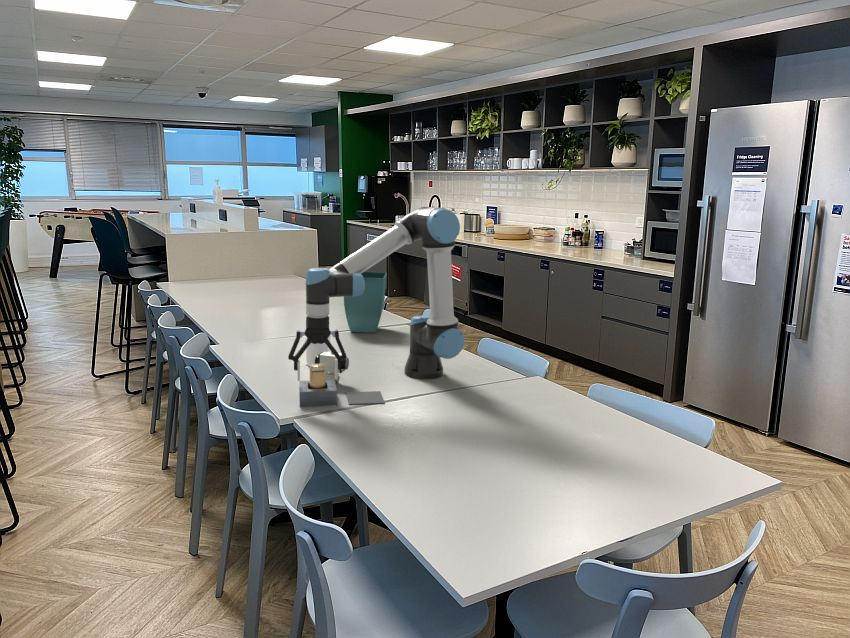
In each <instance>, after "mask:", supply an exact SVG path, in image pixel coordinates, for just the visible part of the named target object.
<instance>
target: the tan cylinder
mask: <svg viewBox="0 0 850 638" xmlns="http://www.w3.org/2000/svg"><path fill="white" fill-rule="evenodd" d="M326 374H327V372H326V366H325V365H324V364H312V365H310V366H309V381H310V389H325V378H326Z"/></svg>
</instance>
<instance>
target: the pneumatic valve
mask: <svg viewBox="0 0 850 638" xmlns="http://www.w3.org/2000/svg"><path fill="white" fill-rule="evenodd" d="M338 353H339V355H342V353H341V352H338ZM335 359H337V358H336V357H335V355H334V354H333V353H332V351H331V350H330V352H329V351H328V352H321V353H320V354H318V355H317V356H316V357H315V364H324V365H325V366H326V378H325V380H335ZM349 366H350V359H349V357H347V358H346V359H342V360H341V369H339V370H338V374H342V373H344V372H345V371H346V370H348V369H349ZM340 379H341V378H340V375H338V380H335V384H337V383H339V382H340Z"/></svg>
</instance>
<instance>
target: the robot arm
mask: <svg viewBox="0 0 850 638" xmlns="http://www.w3.org/2000/svg"><path fill="white" fill-rule="evenodd" d="M460 230H461V224H460V220H459V217H458V216H457V214H455V212H454V211H452V210H450V209H447V208H445V207H444V208H443V207H431V206H423V207H418V208H416V209H414V210H413V211H411V212H409V213H407V214H406V215H404V216H403V217H401V218H400V219H398V220H397V221H396V222H394V225H393V226H392V228H390V229H388V230H386V231H385V232H383V234H381V235H379V236H378V237H376V238H375V239H373V240H371V241H370V242H368V243H367V244H366V245H364V246H362V247H361V248H359V249H358V250H357V251H355V252H353V253H351V254H350V255H349V256H347V257H345V258H344V259H343V260H341V261H340V262H338V263H336V264H335V265H333V266H332V267H331V266H329V267H325V268H323V267H312V268H307V270H306V274H305V297H306V298H305V315H306V317H305V330H299V329H297V330H296V331H295V332H296V335H295V336H296V337H295V338H294V341H293V344H292V346H291V348H290V351H289V353H288V357H287V359H288V360H291V361H293V370H294V371H297V381H298V382H299V381H301V361H300V358H301V356H303V354H304V353H305V351H306V349H307V347H308V346H309V345H310V344H311V343H313V344H317V343H319V344H323V343H324V342H325V344H326V345H327V346H328V347H329V349H330V352H331V351H332V353H333V354H334V355H335V357H336V358H337V359H335V380H338V376H339V373H338V370H339V369H341V360H342V359H346V358H348V357H347V353H346V351H345V348H344V346H343V344H342V342H341V339H340V334H339V333H340V331H339V330H338V329H335V330H330V316H329V315H330V298H335V297H336V298H341V297H343V298H344V296H353V297H354V296H359V295H362V294H363V293H364V290H365V281H364V278H363V276H362V275H361V273H363V272H367V270H368V269H370V268H372V267H374V266H375V265H377V264H378V263H379V262H381V261H382V260H384V259H385V258H387V257H389V256H390V255H391V254H393V253H394V252H396V251H397V250H399V249H400V248H403V246H405V245H412V244H413V243H414V242H417V241H420V240H421V248H422V250H424V251H425V252H426V260H427V261H426V262H427V263H426V264H427V279H428V294H429V295H428V296H429V314H430V315H429V314H426V315H424V314H423V315H414V316H412V317H411V318H410V324H409V354H408V357H407V360H406V363H405V365H404V374H405V375H406V376H407V377H409V378H414V379H419V380H420V379H423V380H424V379H425V380H429V379H436V378H441V377H442V376H443V375H444V366H443V364H442V359H446V360H447V359H448V360H449V359H453V358H456V357H457V356H458V355H459V354H460V352H462V350H463V348H464V346H465V342H466V341H465V340H466V339H465V335H464V333H463V331H461V330H460V329H459V318H457V317H456V316H455V313H454V312H455V311H454V293H453V292H454V291H453V289H454V288H453V269H452V268H453V267H452V250H453V249H454V247H455V246H456V240H457V237H458V236H459V235H460V232H461V231H460ZM303 336H304V337H307V338H308V339H307V340H306V339H305V341H304V343H303V345H302V346H301V347H300V349H299V350H298V351H297V352H296V350H297V348H298V345H299V343H300V340H301V338H303ZM329 336H330V337H331V336H332V338H335V341H336V344H337V346H338V349H339V351H340V352H338V351H337V349H336V348H335V347H334V345H333V344H332V343H331V340H330V341H329V340H328V337H329ZM295 352H296V354H295ZM339 353H342V355H339ZM441 358H442V359H441Z"/></svg>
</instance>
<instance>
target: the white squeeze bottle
mask: <svg viewBox="0 0 850 638" xmlns="http://www.w3.org/2000/svg"><path fill="white" fill-rule="evenodd" d="M304 337H305V341H306V340H307V339H308V338H307V337H306V336H304ZM328 340H329V341H330V342H331V335H330V336H329V337H328ZM305 351H306V352H305V353H306V354H305V361H306V362H305V365H306V366H308V367H310V365H312V364H315V357H316V356H317V355H318V354H320V353H321V352H331V350H330V349H329V347H328V346H327V345H326V344H325V342H324V343H323V344H319V343H317V344H313V343H311V344H310V345H309V346H308V347H307V349H306V350H305Z"/></svg>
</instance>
